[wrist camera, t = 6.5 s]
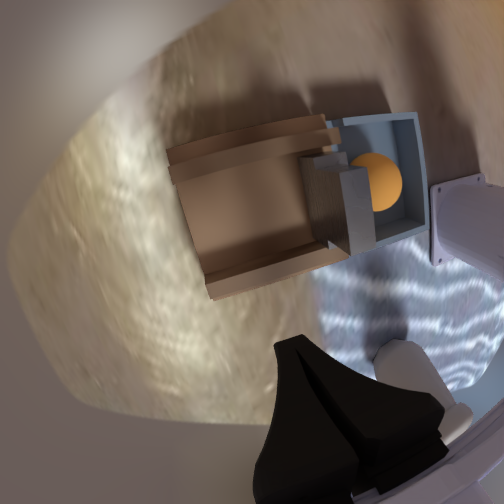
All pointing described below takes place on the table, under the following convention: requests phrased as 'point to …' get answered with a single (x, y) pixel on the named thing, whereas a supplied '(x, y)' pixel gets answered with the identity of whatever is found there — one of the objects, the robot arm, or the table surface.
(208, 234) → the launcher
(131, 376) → the table surface
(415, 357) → the salt shaker
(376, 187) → the ball
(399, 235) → the blue-grey open tray
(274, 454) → the robot arm
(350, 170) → the grey stepped block
